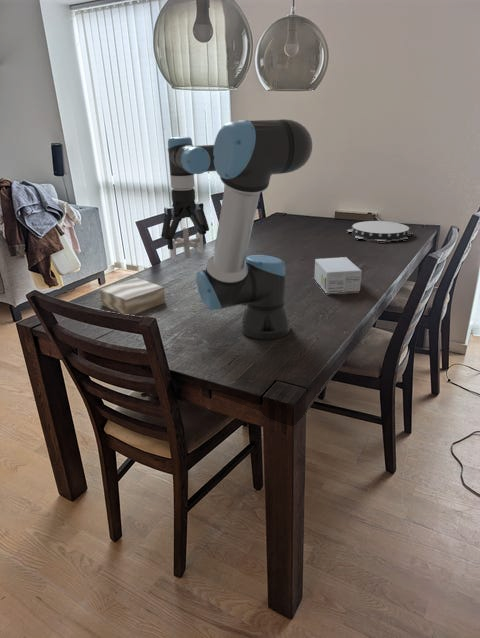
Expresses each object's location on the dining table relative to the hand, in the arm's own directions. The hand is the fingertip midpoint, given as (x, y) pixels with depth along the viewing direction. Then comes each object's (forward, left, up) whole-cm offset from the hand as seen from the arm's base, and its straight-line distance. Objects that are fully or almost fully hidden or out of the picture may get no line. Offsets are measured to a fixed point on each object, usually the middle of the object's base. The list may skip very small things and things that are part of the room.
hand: (187, 255), depth 160 cm
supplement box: (-30, -48, -18) cm, 60 cm away
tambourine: (-5, -131, -19) cm, 132 cm away
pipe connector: (0, 0, -1) cm, 1 cm away
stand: (+16, +13, -18) cm, 27 cm away
